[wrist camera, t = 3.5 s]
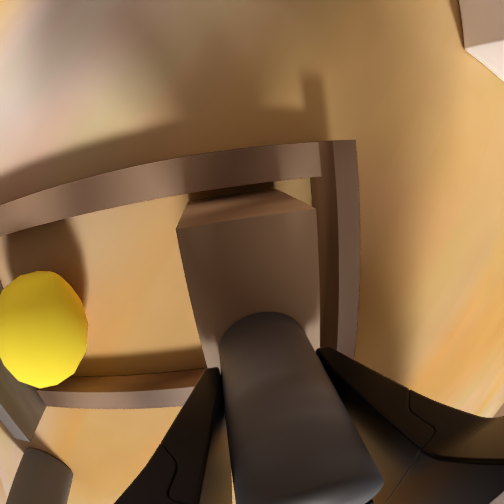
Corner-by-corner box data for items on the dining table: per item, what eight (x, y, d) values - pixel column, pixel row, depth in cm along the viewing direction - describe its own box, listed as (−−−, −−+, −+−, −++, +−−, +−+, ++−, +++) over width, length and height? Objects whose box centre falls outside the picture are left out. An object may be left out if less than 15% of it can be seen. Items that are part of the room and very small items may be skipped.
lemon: (37, 238, 13) (-18, 259, 8) (116, 283, 14) (85, 325, 9) (14, 336, 13) (-27, 379, 8) (83, 376, 15) (58, 433, 10)
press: (326, 142, 13) (382, 138, 8) (331, 361, 17) (363, 416, 13) (-32, 218, 11) (-85, 242, 6) (38, 391, 15) (15, 438, 11)
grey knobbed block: (276, 189, 13) (476, 302, 3) (289, 350, 16) (365, 527, 6) (188, 201, 13) (118, 383, 2) (220, 362, 16) (245, 556, 5)
